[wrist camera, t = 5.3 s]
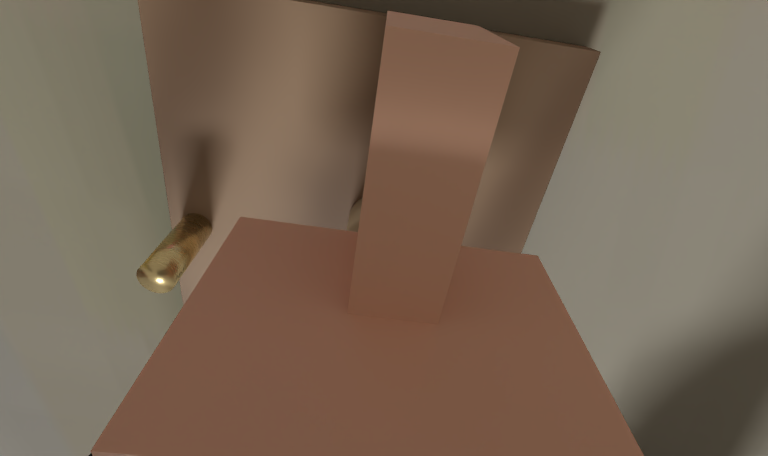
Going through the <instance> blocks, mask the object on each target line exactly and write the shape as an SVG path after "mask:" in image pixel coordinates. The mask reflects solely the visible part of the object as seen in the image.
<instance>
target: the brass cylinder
mask: <svg viewBox="0 0 768 456" xmlns="http://www.w3.org/2000/svg"><path fill="white" fill-rule="evenodd" d="M211 233H212V225H211V223H210V221H209V220H208V219H207V218H206V217H204V216H202V215H200V214H196V213H190V214H187V215H185V216H184V217H183V218H182V219H181V220H180V222H179V223H178V224H177V225H176V226H175V227H174V229H173V230H172V231H171V232H170V233H169V234H168V235H167V237H166V238H165V239H164V240H163V241H162V242H161V243H160V245H159V246H158V247H157V248H156V249H155V250H154V252H153V253H152V254H151V255H150V256H149V257H148V258H147V260H146V261H145V262H144V263H143V264H142V265H141V266H140V268H139V269H138V270H137V279H138V281H139V282H140V284H141V285H142V286H143V287H145V288H146V289H148V290H150V291H152V292H156V293H166V292H169V291H171V290H172V289H173V288H174V286H175V285H176V283H177V282H178V281H179V279H180V278H181V276H182V275H183V273H184V272H185V271H186V269H187V268H188V266H189V265H190V263H191V262H192V261H193V259H194V258H195V256H196V255H197V253H198V252H199V251H200V249H201V248H202V246H203V245H204V244H205V242H206V241H207V239H208V238H209V236H210V235H211Z"/></svg>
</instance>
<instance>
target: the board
mask: <svg viewBox="0 0 768 456" xmlns="http://www.w3.org/2000/svg"><path fill="white" fill-rule="evenodd" d="M138 5H139V12H140V19H141V25H142V32H143V39H144V45H145V52H146V59H147V65H148V72H149V79H150V86H151V92H152V99H153V106H154V112H155V119H156V126H157V133H158V139H159V146H160V153H161V159H162V166H163V173H164V179H165V186H166V193H167V200H168V206H169V213H170V220H171V226H172V230H173V229H174V227H175V226H176V225H177V224H178V223H179V222H180V220H181V219H182V218H183V217H184V216H185V215H187V214H190V213H196V214H200V215H202V216H204V217H206V218H207V219H208V220H209V221H210V223H211V225H212V233H211V235H210V236H209V238H208V239H207V241H206V242H205V244H204V245H203V246H202V248H201V249H200V251H199V252H198V253H197V255H196V256H195V258H194V259H193V261H192V262H191V263H190V265H189V266H188V268H187V269H186V271H185V272H184V273H183V275H182V276H181V278H180V279H179V280H180V287H181V293H182V300H183V306H184V304H185V302H186V301H187V299H188V298H189V296H190V295H191V293H192V291H193V290H194V288H195V287H196V285H197V284H198V282H199V281H200V279H201V277H202V276H203V274H204V273H205V271H206V270H207V268H208V266H209V265H210V263H211V262H212V260H213V259H214V257H215V255H216V254H217V252H218V251H219V249H220V248H221V246H222V244H223V243H224V241H225V240H226V238H227V237H228V235H229V234H230V232H231V230H232V229H233V227H234V226H235V224H236V223H237V221H238V219H239V218H240V217H248V218H255V219H263V220H270V221H278V222H285V223H293V224H301V225H308V226H316V227H323V228H331V229H339V230H346V231H354V232H358V228H359V221H360V213H361V206H362V198H363V191H364V183H365V176H366V168H367V161H368V153H369V146H370V138H371V131H372V123H373V116H374V108H375V101H376V93H377V86H378V78H379V71H380V63H381V56H382V48H383V41H384V33H385V26H386V19H387V13H382V12H376V11H370V10H364V9H358V8H352V7H346V6H340V5H334V4H328V3H322V2H316V1H310V0H138ZM488 31H489V30H488ZM490 32H491V33H493V34H495V35H497V36H499V37H501V38H503V39H505V40H507V41H509V42H511V43H513V44H515V45H516V46H518V47H520V49H519V52H518V56H517V59H516V63H515V66H514V69H513V73H512V76H511V79H510V83H509V86H508V90H507V93H506V96H505V100H504V103H503V106H502V110H501V113H500V116H499V120H498V123H497V127H496V130H495V133H494V137H493V140H492V143H491V147H490V150H489V154H488V157H487V160H486V164H485V167H484V170H483V174H482V177H481V181H480V184H479V187H478V191H477V194H476V197H475V201H474V204H473V207H472V211H471V214H470V218H469V221H468V224H467V228H466V231H465V234H464V238H463V241H462V245H461V246H467V247H475V248H483V249H490V250H498V251H505V252H513V253H520V254H521V252H522V249H523V247H524V244H525V242H526V239H527V237H528V234H529V232H530V229H531V227H532V224H533V222H534V219H535V217H536V214H537V212H538V209H539V207H540V204H541V201H542V199H543V196H544V194H545V191H546V189H547V186H548V184H549V181H550V179H551V176H552V174H553V171H554V169H555V166H556V164H557V161H558V159H559V156H560V154H561V151H562V148H563V146H564V143H565V141H566V138H567V136H568V133H569V131H570V128H571V126H572V123H573V121H574V118H575V116H576V113H577V111H578V108H579V106H580V103H581V101H582V98H583V95H584V93H585V90H586V88H587V85H588V83H589V80H590V78H591V75H592V73H593V70H594V68H595V65H596V63H597V60H598V58H599V55H600V53H601V52H599V51H596V50H594V49H591V48H588V47H585V46H579V45H573V44H567V43H561V42H555V41H549V40H543V39H537V38H531V37H525V36H519V35H513V34H507V33H501V32H495V31H490Z"/></svg>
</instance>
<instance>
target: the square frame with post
mask: <svg viewBox="0 0 768 456" xmlns="http://www.w3.org/2000/svg"><path fill="white" fill-rule="evenodd" d="M519 49H520V47H518V46H516V45H515V44H513V43H511V42H509V41H507V40H505V39H503V38H501V37H499V36H497V35H495V34H493V33H491V32H490V31H488V30H486V29H484V28H482V27H480V26H477V25H471V24H465V23H459V22H453V21H447V20H441V19H435V18H429V17H423V16H417V15H411V14H405V13H399V12H393V11H387V19H386V26H385V33H384V41H383V48H382V56H381V63H380V71H379V78H378V86H377V93H376V101H375V108H374V116H373V123H372V131H371V138H370V146H369V153H368V161H367V168H366V176H365V183H364V191H363V198H362V206H361V213H360V221H359V228H358V232H354V231H346V230H339V229H331V228H323V227H316V226H308V225H301V224H293V223H285V222H278V221H270V220H263V219H255V218H248V217H240V218H239V219H238V221H237V223H236V224H235V226H234V227H233V229H232V230H231V232H230V234H229V235H228V237H227V238H226V240H225V241H224V243H223V244H222V246H221V248H220V249H219V251H218V252H217V254H216V255H215V257H214V259H213V260H212V262H211V263H210V265H209V266H208V268H207V270H206V271H205V273H204V274H203V276H202V277H201V279H200V281H199V282H198V284H197V285H196V287H195V288H194V290H193V291H192V293H191V295H190V296H189V298H188V299H187V301H186V302H185V304H184V306H183V307H182V309H181V310H180V312H179V313H178V315H177V317H176V318H175V320H174V321H173V323H172V324H171V326H170V327H169V329H168V331H167V332H166V334H165V335H164V337H163V338H162V340H161V342H160V343H159V345H158V346H157V348H156V349H155V351H154V353H153V354H152V356H151V357H150V359H149V360H148V362H147V364H146V365H145V367H144V368H143V370H142V371H141V373H140V374H139V376H138V378H137V379H136V381H135V382H134V384H133V385H132V387H131V389H130V390H129V392H128V393H127V395H126V396H125V398H124V400H123V401H122V403H121V404H120V406H119V407H118V409H117V411H116V412H115V414H114V415H113V417H112V418H111V420H110V421H109V423H108V425H107V426H106V428H105V429H104V431H103V432H102V434H101V436H100V437H99V439H98V440H97V442H96V443H95V445H94V447H93V448H92V450H91V453H92V456H644V455H643V453H642V451H641V449H640V447H639V446H638V444H637V442H636V440H635V438H634V436H633V434H632V432H631V430H630V429H629V427H628V425H627V423H626V421H625V419H624V417H623V415H622V414H621V412H620V410H619V408H618V406H617V404H616V402H615V400H614V399H613V397H612V395H611V393H610V391H609V389H608V387H607V385H606V383H605V382H604V380H603V378H602V376H601V374H600V372H599V370H598V368H597V367H596V365H595V363H594V361H593V359H592V357H591V355H590V353H589V351H588V350H587V348H586V346H585V344H584V342H583V340H582V338H581V336H580V335H579V333H578V331H577V329H576V327H575V325H574V323H573V321H572V320H571V318H570V316H569V314H568V312H567V310H566V308H565V306H564V304H563V303H562V301H561V299H560V297H559V295H558V293H557V291H556V289H555V288H554V286H553V284H552V282H551V280H550V278H549V276H548V274H547V273H546V271H545V269H544V267H543V265H542V263H541V261H540V259H539V257H538V256H536V255H528V254H520V253H513V252H505V251H498V250H490V249H483V248H475V247H467V246H461V245H462V241H463V238H464V234H465V231H466V228H467V224H468V221H469V218H470V214H471V211H472V207H473V204H474V201H475V197H476V194H477V191H478V187H479V184H480V181H481V177H482V174H483V170H484V167H485V164H486V160H487V157H488V154H489V150H490V147H491V143H492V140H493V137H494V133H495V130H496V127H497V123H498V120H499V116H500V113H501V110H502V106H503V103H504V100H505V96H506V93H507V90H508V86H509V83H510V79H511V76H512V73H513V69H514V66H515V63H516V59H517V56H518V52H519Z"/></svg>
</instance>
